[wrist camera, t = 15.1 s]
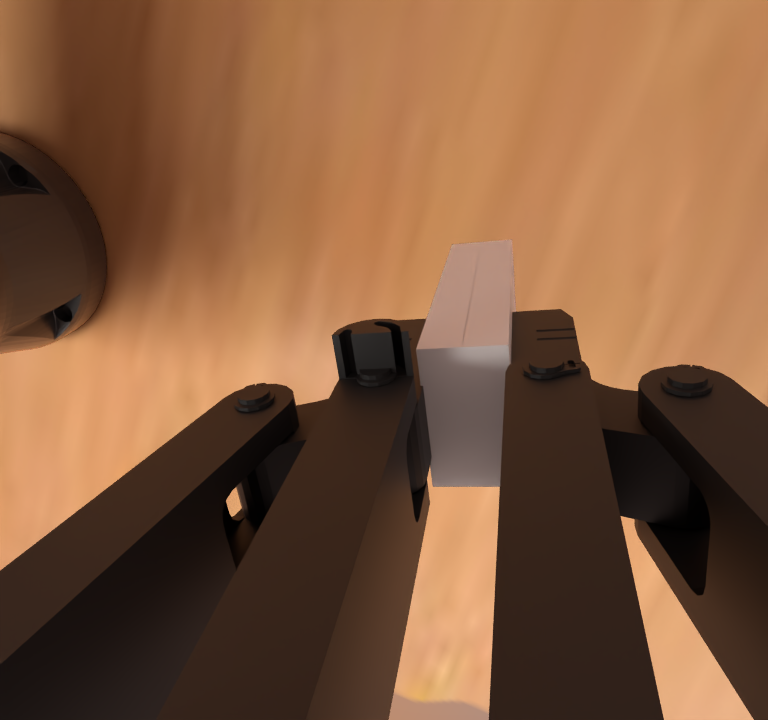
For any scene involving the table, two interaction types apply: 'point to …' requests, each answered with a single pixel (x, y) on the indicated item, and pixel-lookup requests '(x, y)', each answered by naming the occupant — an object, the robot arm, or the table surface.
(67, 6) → the table surface
